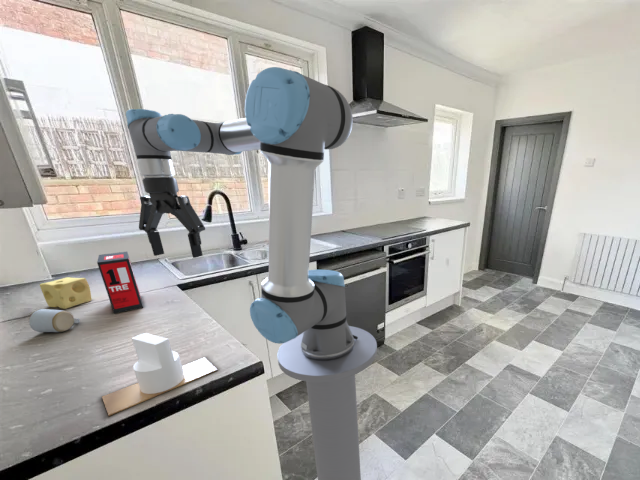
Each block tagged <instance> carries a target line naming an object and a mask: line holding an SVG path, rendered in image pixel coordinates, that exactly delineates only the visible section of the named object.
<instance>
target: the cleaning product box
mask: <svg viewBox="0 0 640 480" xmlns="http://www.w3.org/2000/svg"><path fill="white" fill-rule="evenodd" d="M96 263H97V267H98V270H99V273H100V276H101V279H102V282H103V285H104V287H105V291H106V293H107V297H108V299H109V302H110V305H111V309H112V311H113V314H118V313H123V312H128V311H134V310H138V309H142V308H144V305H143V300H142V296H141V293H140V290H139V285H138V282H137V279H136V276H135V273H134V270H133V265H132V263H131V259H130V256H129V253H128V251H121V252H120V251H119V252H112V253H103V254H98V257H97V261H96Z"/></svg>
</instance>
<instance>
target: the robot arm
mask: <svg viewBox="0 0 640 480" xmlns="http://www.w3.org/2000/svg"><path fill="white" fill-rule="evenodd" d="M244 116H245V117H243V118H237V119H233V120H227V121H221V122H210V121H204V120H198V119H192V118H190V117H189V116H187V115H185V114H182V113H168V114H164V115H162V114H161V113H160V112H159V111H156V110H151V109H145V108H144V109H143V108H130V109H128V110H126V112H125V117H126V121H127V129H128V131H129V132H128V133H129V135H130V138H131V143H132V146H133V149H134V153H135V156H136V161H137V166H138V170H139V174H140V176H141V177H143V178H142V184H143V185H142V186H143V188H144V192H145V193H146V194H149V195H143V196H140V197H139V200H140V213H139V221H138V230H139V231H144V232H145V234H146V235H147V238H148V242H149V244H150V246H151V250H152V254H153V256H155V257H157V256H161V255H165V251H164V247H163V243H162V239H161V235H160V232H159V231H158V226H159V225H160V221H161V219H162V217H163V215H164V214H171V215H172V216H174V217H175V218H176V219H177V220H178V221H179V223H180V224H181V225H182V226H183V227H184V228H185V230H187V232H188V233H187V239H188V243H189V247H190V252H191V255H192V258H193V259H196V258H200V257H202V256H203V250H202V239H201V234H200V233H201V232H203V231H206V227H205V225H204V224H203V222H202V220H201V219H200V216H199V215H198V214H197V212H196V210H195V209H194V208H193V205H192V203H191V201H190V198H189V196H188V195H178V193H179V191H180V190H179V185H178V180H177V179H176V178H175V177H174V176H176V171H175V168H174V163H173V158H172V153H171V152H191V153H203V154H220V155H227V156H233V155H235V156H236V155H240V154H242V153H243V152H251V151H260V154H262V156H263V157H264V158H265V159H266V160H267V162H268V276H267V277H265V278H264V279H262V281H261V285H260V286H261V287H260V288H261V289H260V293H261V295H260V297H257V298H255V300H253V301H252V302H251V303H250V306H249V315H250V319H251V322H252V323H253V326H254V328H255V329H256V330H257V331H258V333H259V334H260V335H261V336H262V337H263V338H264V339H266V340H267V341H269V342H271V343H272V344H273V343H274V344H278V345H279V344H280V345H282V344H283V343H285V342H288V341H290V340H292V339H295V338H296V337H297V336H298V335H300V334H302V333H303V332H304V333H303V337H302V342H301V350H302V353H303V355H304V356H305V357H307V358H309V359H312V360H317V361H329V360H335V359H338V358H341V357H344V356H345V355H347V354H349V353H350V352H351V351H352V350H353V348H354V339H358V337H357V336H354V335H352V333H351V330H350V328H349V326H350V325H349V323H348V319H347V304H346V302H347V301H346V288H345V287H346V284H345V277H344V275H343V274H342V273H341V272H339V271H337V270H333V269H310V256H311V255H310V254H311V242H312V241H311V240H312V227H313V226H312V225H313V224H312V223H313V210H314V209H313V208H314V192H315V191H314V190H315V177H316V176H315V175H316V169H317V168H318V167H319V166H320V165H321V164H322V163H323V162H324V161H325V160H324V159H325V150H333V149H338V148H339V147H341V146H343V145H344V144H345V142H346V141H347V140H348V139H349V137H350V135H351V133H352V130H353V123H354V122H353V121H354V120H353V118H354V117H353V111H352V109H351V105H350V103H349V101H348V99H347V98H346V97H345V96H344V95H343V93H341V92H340V91H339V90H338V89H336V88H335V87H333V86H330V85H327V84H325V83H322V82H320V81H318V80H315V79H314V78H311V77H309V76H306V75H304V74H302V73H301V72H298V71H295V70H292V69H287V68H283V67H278V66H271V67H267V68H265V69H262V70H261V71H260V72H259V73H257V75H256V76H255V78H254V79H253V80H252V81H251V82H250V84H249V86H248V88H247V91H246V94H245V100H244Z"/></svg>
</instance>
